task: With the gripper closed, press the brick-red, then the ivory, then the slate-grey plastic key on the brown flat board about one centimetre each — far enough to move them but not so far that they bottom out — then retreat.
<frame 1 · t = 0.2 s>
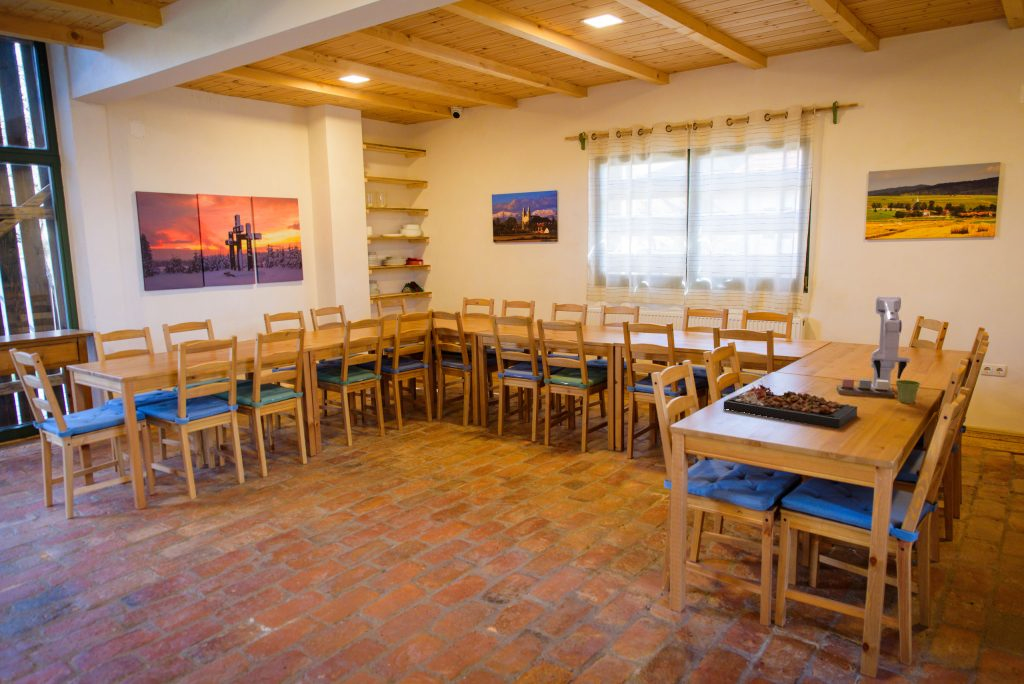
hand: (888, 377, 280), 10 cm above the table, fingers open, 7 cm apart
brick key: (847, 382, 296), point 5 cm above the table, slide at 0.0 cm
food platter: (788, 414, 262), on the table
plant pot: (906, 402, 278), on the table
brown flat board: (864, 393, 294), on the table
slate key: (864, 383, 293), point 5 cm above the table, slide at 0.0 cm
ivory key: (882, 384, 290), point 5 cm above the table, slide at 0.0 cm
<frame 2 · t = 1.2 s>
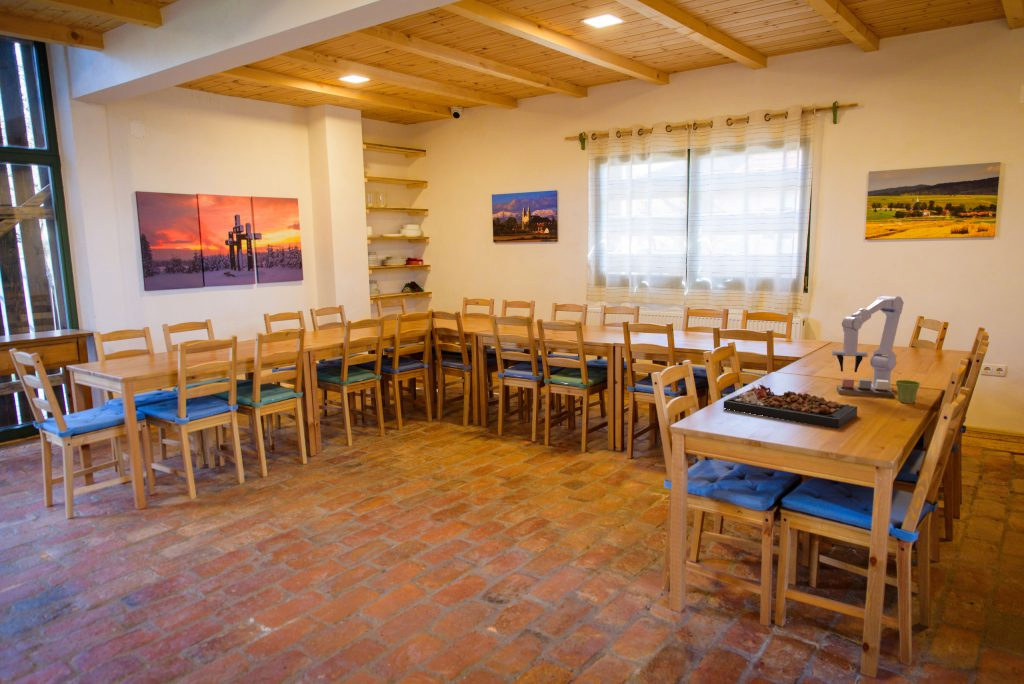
hand: (848, 371, 295), 10 cm above the table, fingers open, 5 cm apart
nothing on the table moved.
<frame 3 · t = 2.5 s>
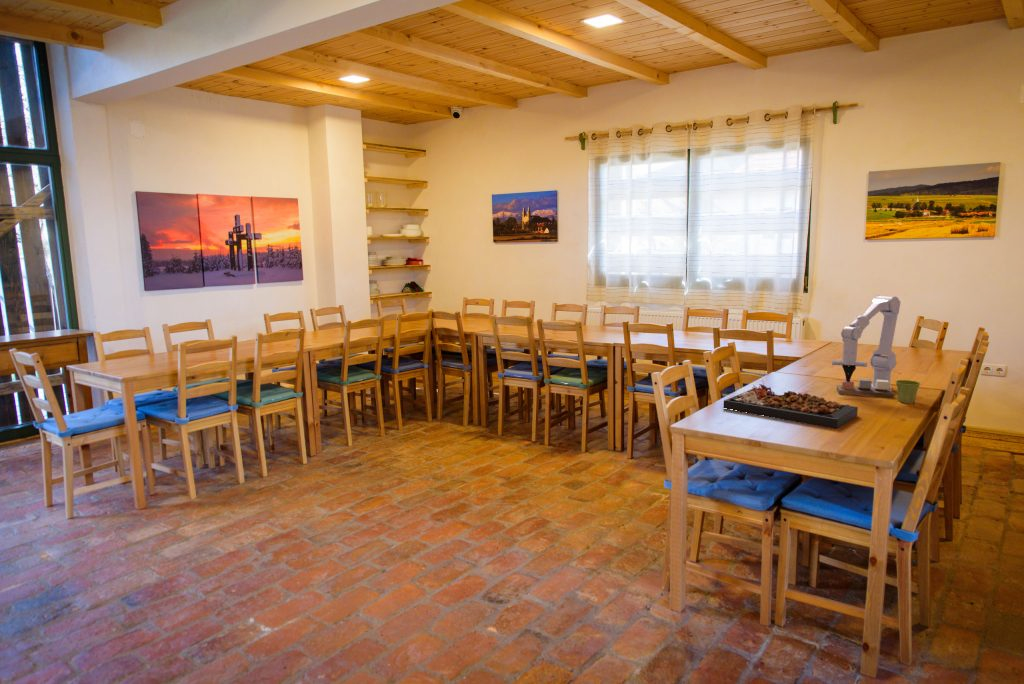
hand: (847, 381, 296), 5 cm above the table, fingers closed, pressing on brick key
brick key: (847, 384, 296), point 4 cm above the table, slide at 1.1 cm, touching gripper
everything else where it was.
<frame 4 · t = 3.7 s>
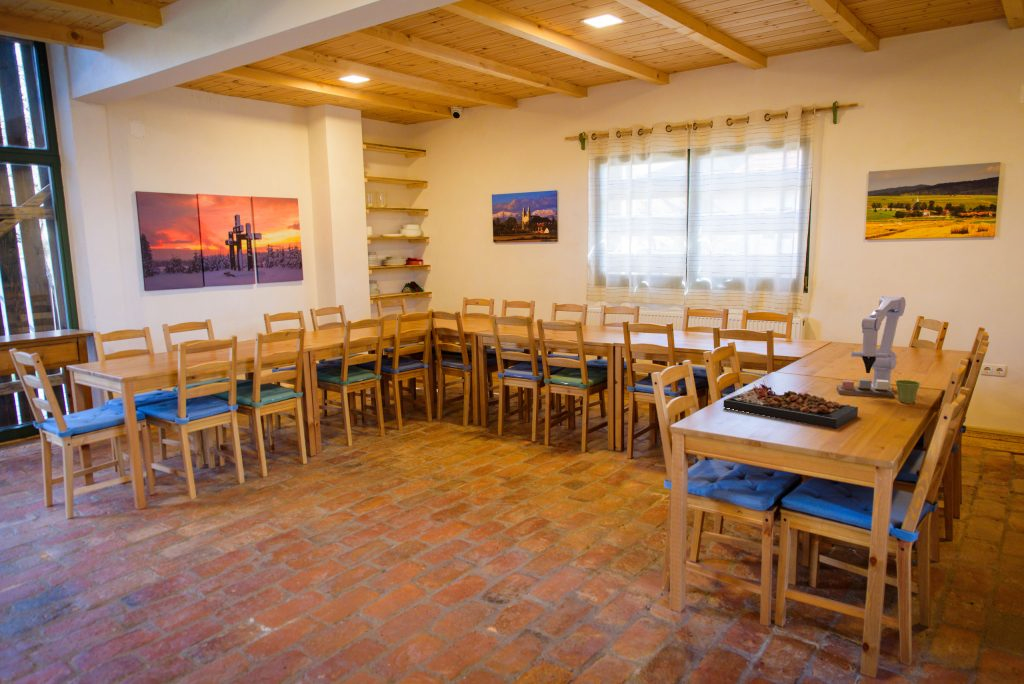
hand: (867, 372, 292), 10 cm above the table, fingers closed
brick key: (847, 384, 296), point 4 cm above the table, slide at 1.1 cm
everything else where it was.
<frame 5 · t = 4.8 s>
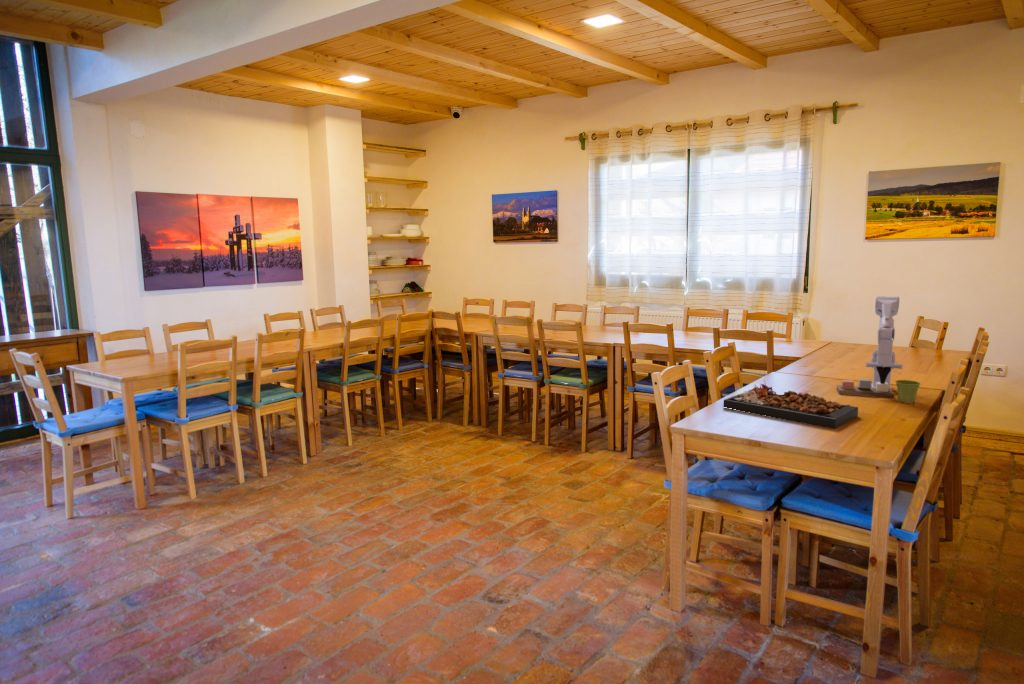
hand: (882, 383, 290), 5 cm above the table, fingers closed, pressing on ivory key
ivory key: (882, 386, 291), point 4 cm above the table, slide at 1.1 cm, touching gripper
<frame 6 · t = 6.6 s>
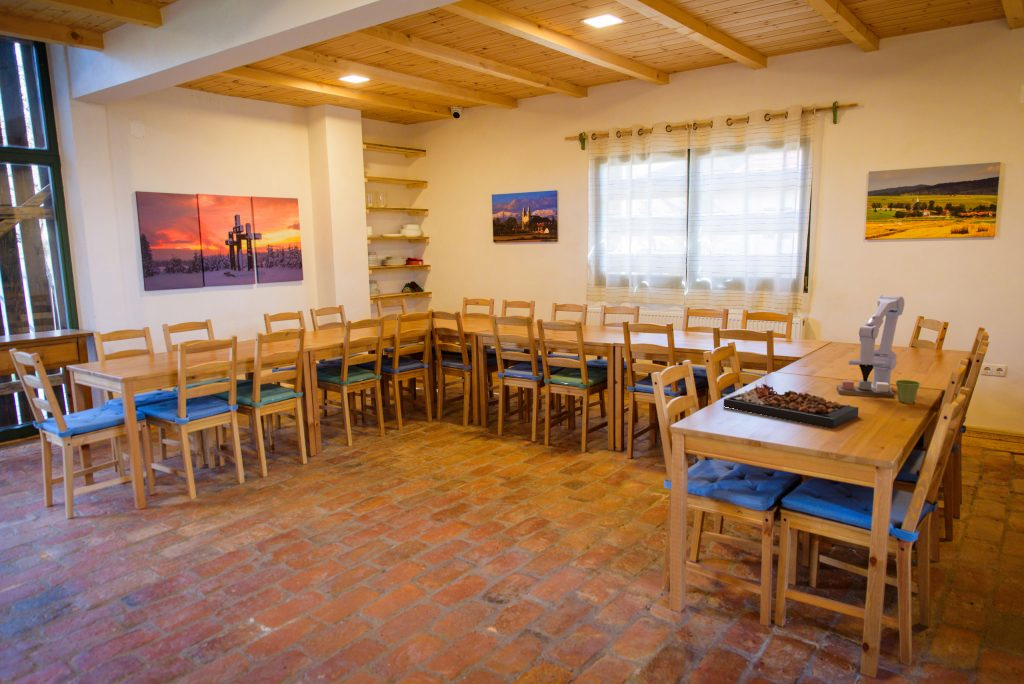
hand: (865, 380, 293), 6 cm above the table, fingers closed, pressing on slate key
slate key: (864, 384, 293), point 4 cm above the table, slide at 0.5 cm, touching gripper
ivory key: (882, 386, 291), point 4 cm above the table, slide at 1.1 cm
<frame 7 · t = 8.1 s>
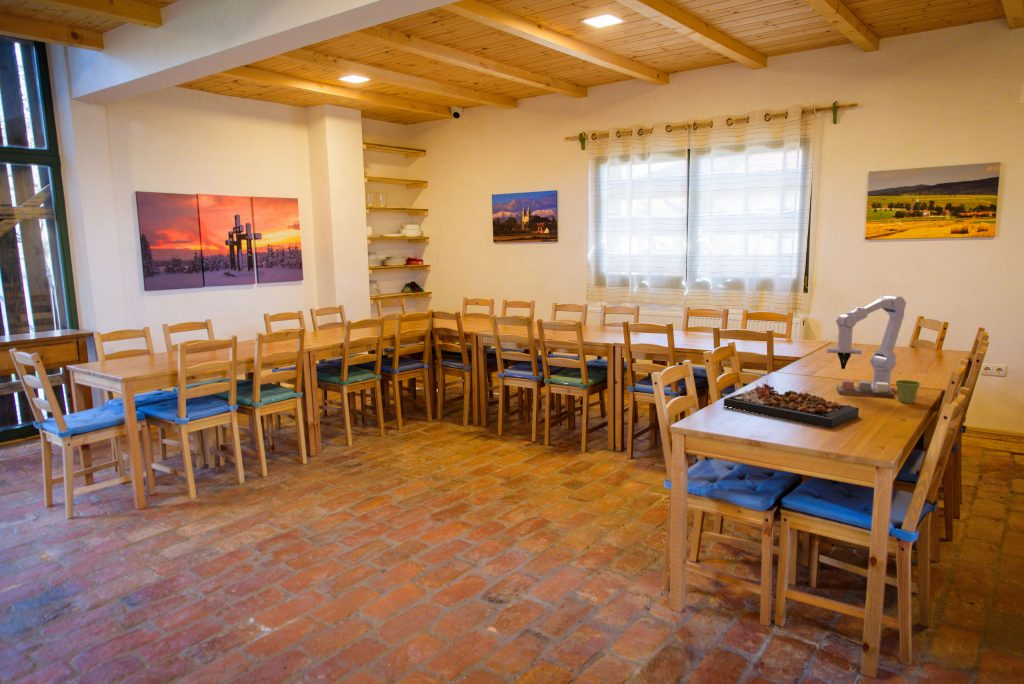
hand: (843, 368, 299), 10 cm above the table, fingers closed
slate key: (864, 385, 293), point 4 cm above the table, slide at 1.1 cm
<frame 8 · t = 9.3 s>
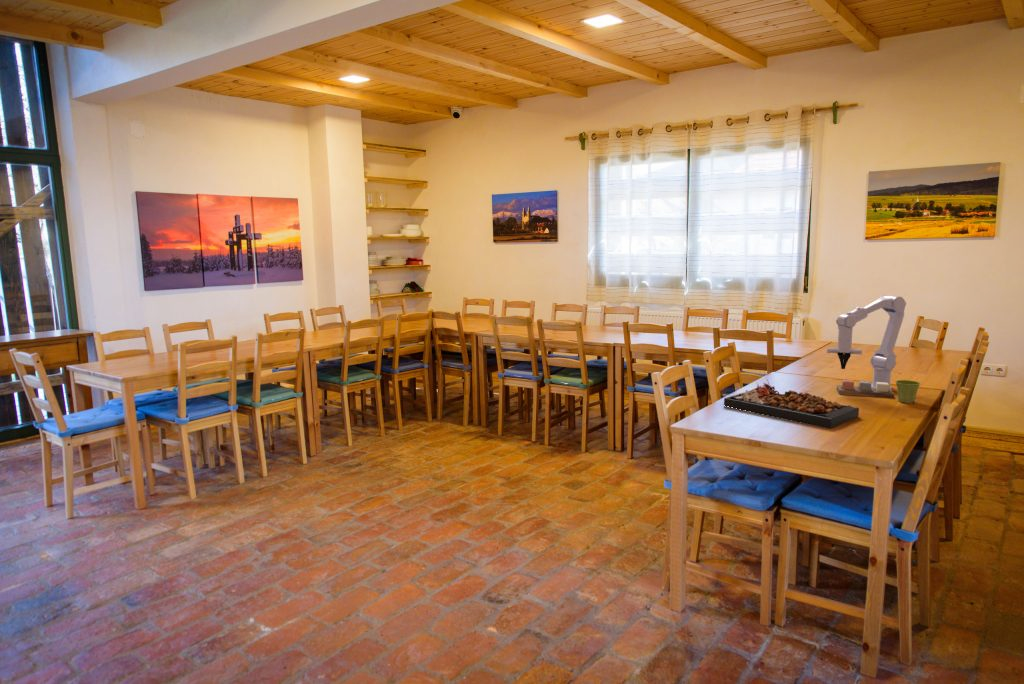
hand: (843, 368, 299), 10 cm above the table, fingers closed
at the end: brick key slide at 1.1 cm; ivory key slide at 1.1 cm; slate key slide at 1.1 cm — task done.
